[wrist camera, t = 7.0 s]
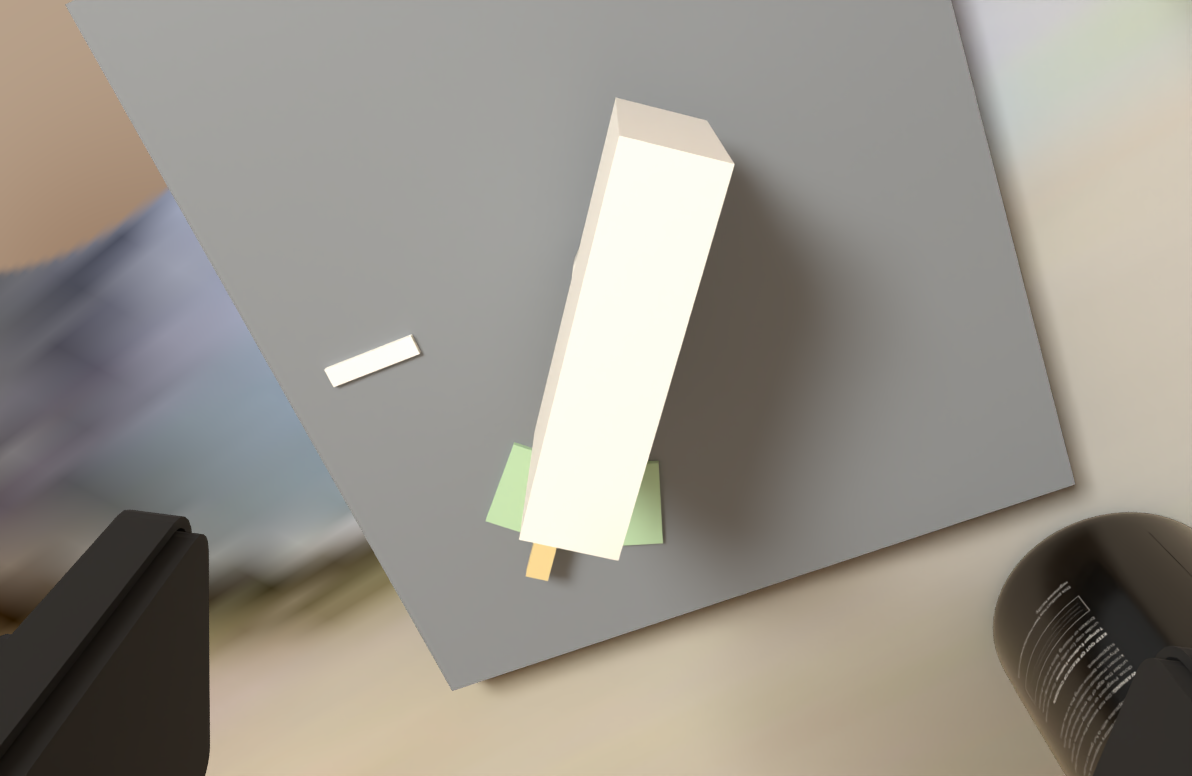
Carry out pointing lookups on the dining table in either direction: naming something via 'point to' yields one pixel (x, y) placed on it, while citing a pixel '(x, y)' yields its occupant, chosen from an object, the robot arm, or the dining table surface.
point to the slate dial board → (544, 272)
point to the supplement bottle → (1092, 624)
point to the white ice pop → (621, 329)
